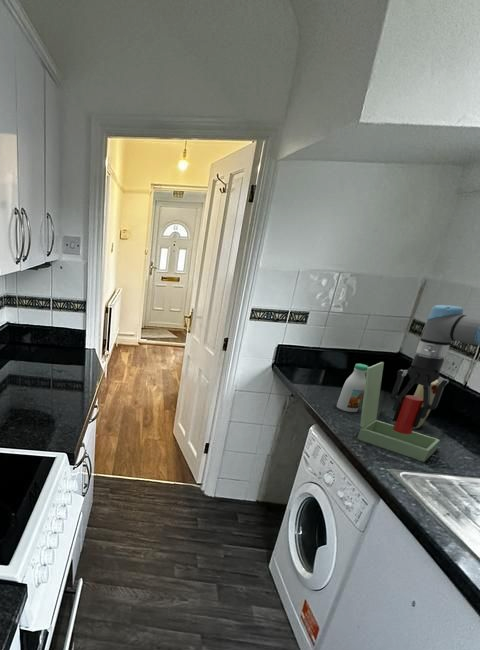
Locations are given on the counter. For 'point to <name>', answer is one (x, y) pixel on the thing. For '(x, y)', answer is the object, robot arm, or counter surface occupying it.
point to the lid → (371, 393)
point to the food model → (419, 393)
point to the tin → (408, 414)
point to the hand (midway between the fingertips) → (405, 423)
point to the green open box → (398, 440)
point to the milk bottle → (353, 389)
